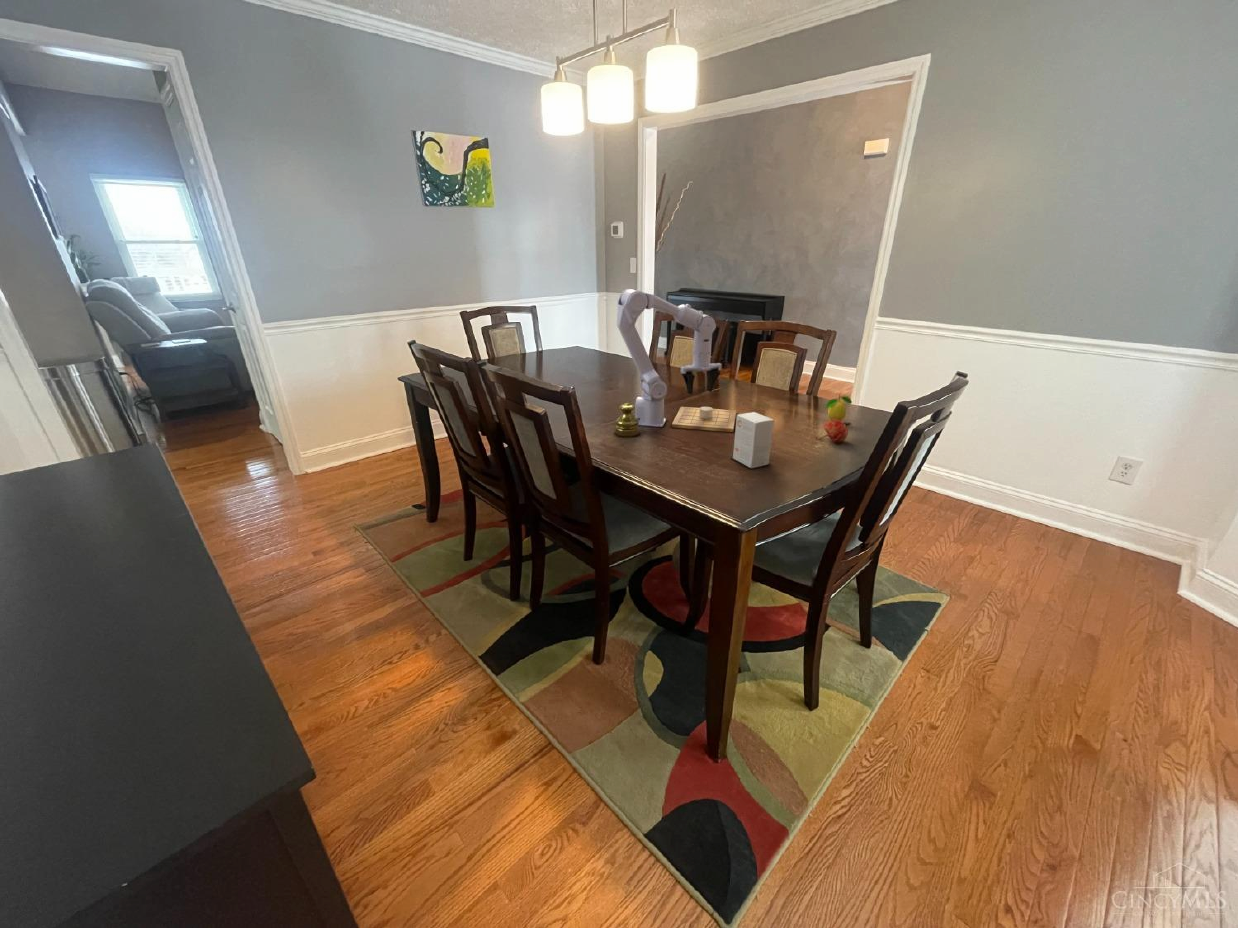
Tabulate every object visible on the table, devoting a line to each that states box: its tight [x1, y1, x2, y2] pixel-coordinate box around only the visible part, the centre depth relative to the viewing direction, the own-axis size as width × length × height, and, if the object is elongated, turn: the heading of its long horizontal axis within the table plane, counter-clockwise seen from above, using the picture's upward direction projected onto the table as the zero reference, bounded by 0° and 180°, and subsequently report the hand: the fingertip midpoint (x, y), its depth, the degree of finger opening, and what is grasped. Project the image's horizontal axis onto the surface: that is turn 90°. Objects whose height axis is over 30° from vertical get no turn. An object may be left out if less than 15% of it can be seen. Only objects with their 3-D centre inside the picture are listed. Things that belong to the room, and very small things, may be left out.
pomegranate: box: [819, 419, 852, 444], centre depth 149 cm, size 7×7×10 cm
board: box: [671, 406, 737, 433], centre depth 169 cm, size 20×20×1 cm
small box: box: [732, 411, 775, 469], centre depth 134 cm, size 8×6×13 cm
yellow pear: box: [824, 394, 853, 421], centre depth 164 cm, size 7×6×10 cm
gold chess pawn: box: [615, 402, 640, 438], centre depth 156 cm, size 7×7×10 cm
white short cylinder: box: [699, 406, 714, 419], centre depth 168 cm, size 4×4×3 cm
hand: (699, 392), depth 168 cm, fingers open, 7 cm apart
